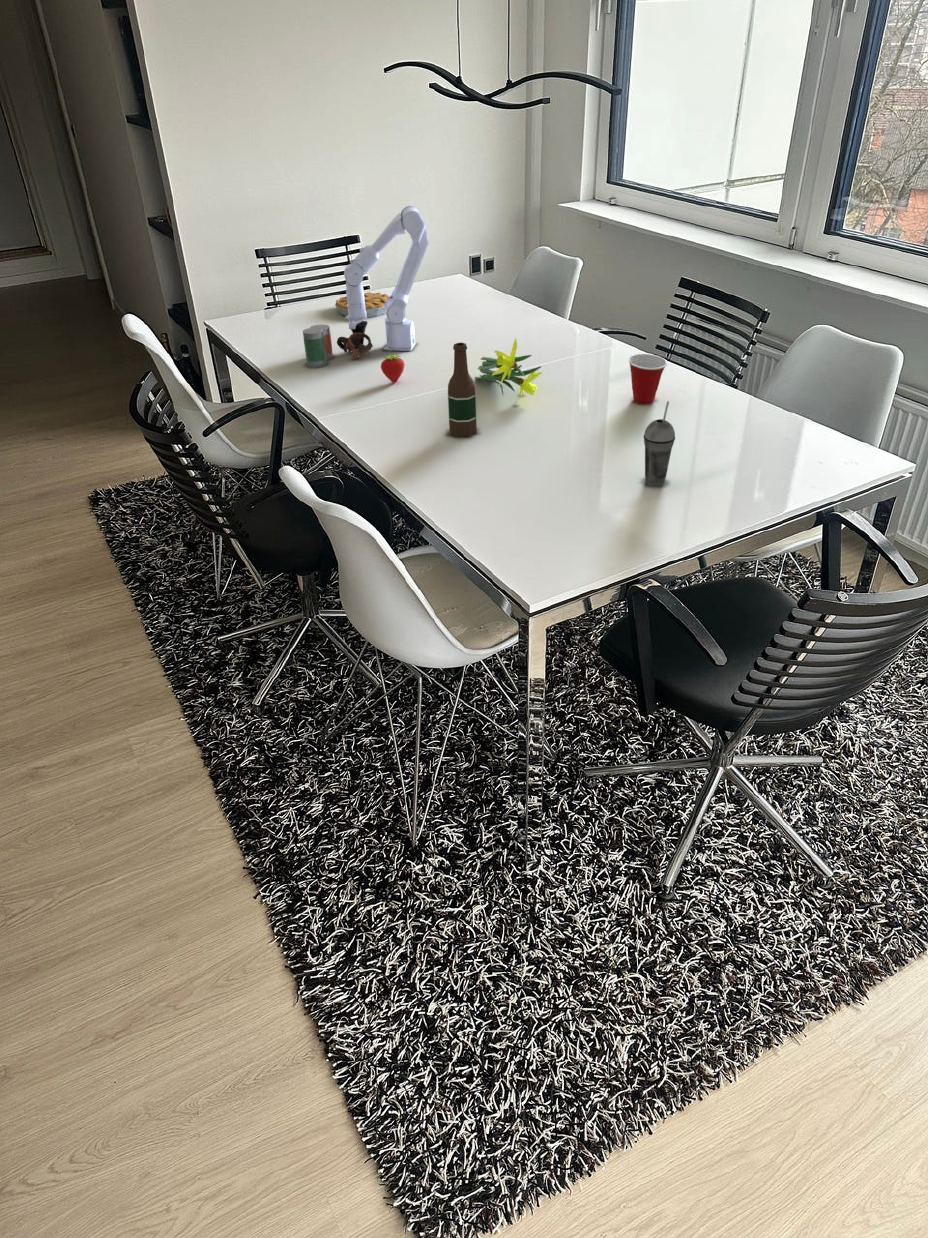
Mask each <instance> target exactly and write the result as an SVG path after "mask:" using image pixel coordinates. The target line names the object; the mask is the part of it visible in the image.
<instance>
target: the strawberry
mask: <svg viewBox="0 0 928 1238" xmlns="http://www.w3.org/2000/svg"><path fill="white" fill-rule="evenodd" d="M390 352H392V353H390V354H389V356H386V357H384V360H382V361H381V363H380V369H381V371H382V374H383V375H384V376H385V377H386V378H387V379H388V380H389V381H390V382H391V383H392V384H396V383H397V382H398V380H399V379H400V377H401V376H402V374H403V373H404V370H405V361H404V360H403V359H402V355H395V353H394V350H390Z"/></svg>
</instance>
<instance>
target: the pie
mask: <svg viewBox="0 0 928 1238" xmlns="http://www.w3.org/2000/svg"><path fill="white" fill-rule="evenodd" d="M390 296H391V295H388V294H386V293H384V294H382V293H381V292H375V293H373V292H364V300H365V310H366V315H367V319H368V318H375V317H379V316H383V315H385V314H386V310H385V302H386V301H387V299H389V298H390ZM334 306H335V307H336V308H337V310H338V312H339V314H341V315H342V316H344V317H346V316H349V314H348V304H347V295H346V296H341V297H339V299H338V298H337V299H336V300H335V304H334Z"/></svg>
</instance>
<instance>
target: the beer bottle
mask: <svg viewBox="0 0 928 1238" xmlns="http://www.w3.org/2000/svg"><path fill="white" fill-rule="evenodd" d="M452 350H453V351H454V352H453V374H452V375H451V377H450V379H449V381H448V384H447V404H448V405H447V407H448V408H447V409H448V426H449V434H450V436H452V437H455V438H457V439H460V438H470V437H472V436H474V435H476V434H477V396H476V395H477V394H476V393H477V392H476V385H475V381H474V380H473V378H472V376H471V375H470V373H469V369H468V368H469V367H468V356H467V350H468V346H467V343H465V342H456V343H454V344H453V347H452Z"/></svg>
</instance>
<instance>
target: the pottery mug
mask: <svg viewBox="0 0 928 1238" xmlns="http://www.w3.org/2000/svg"><path fill="white" fill-rule="evenodd" d="M363 337H364V339H366V340H367V344H366V345H365V344H364V343H363V344H361V343H360V340H361V339H362V338H363ZM336 344H337V346H338V347H339V349H341V350H343V352H344V353H345V354H346V353H347V352H348V353H351V352H352V353H353V354H352V359H355V360H358V359H359V357H362V356H365V355H368V354H369V353H370V351H371V350H372V348H373V347H374V345H373V343H372V340H371V337H370V336H369V335H368V334H366V333H365V334H364V333H360V332H357V333H353V332H352V333H351V334H350V335H349V337H346V336H339V337H337V340H336Z"/></svg>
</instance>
